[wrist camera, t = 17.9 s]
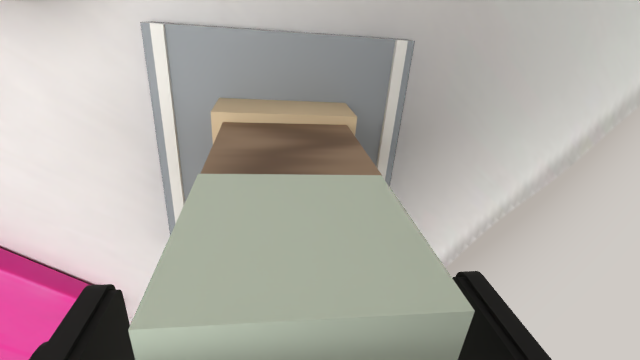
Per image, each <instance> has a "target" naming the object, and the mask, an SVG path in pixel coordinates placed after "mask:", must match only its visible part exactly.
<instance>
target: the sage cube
mask: <svg viewBox="0 0 640 360" xmlns="http://www.w3.org/2000/svg"><path fill="white" fill-rule="evenodd" d="M474 312H475V310H474V309H473V308H472V306H471V305H470V303H469V302H468V300H467V299H466V297H465V296H464V295H463V293H462V292H461V290H460V289H459V287H458V286H457V284H456V283H455V282H454V280H453V279H452V277H451V276H450V274H449V273H448V271H447V270H446V268H445V267H444V266H443V264H442V263H441V261H440V260H439V258H438V257H437V255H436V254H435V253H434V251H433V250H432V248H431V247H430V245H429V244H428V242H427V241H426V239H425V238H424V237H423V235H422V234H421V232H420V231H419V229H418V228H417V226H416V225H415V224H414V222H413V221H412V219H411V218H410V216H409V215H408V213H407V212H406V210H405V209H404V208H403V206H402V205H401V203H400V202H399V200H398V199H397V197H396V196H395V195H394V193H393V192H392V190H391V189H390V187H389V186H388V184H387V183H386V181H385V180H384V179H383V177H382V176H381V175H295V174H198V175H197V177H196V180H195V182H194V184H193V186H192V188H191V191H190V193H189V195H188V197H187V200H186V202H185V204H184V206H183V209H182V211H181V213H180V215H179V218H178V220H177V222H176V224H175V226H174V229H173V231H172V233H171V235H170V238H169V240H168V242H167V244H166V247H165V249H164V251H163V253H162V255H161V258H160V260H159V262H158V264H157V267H156V269H155V271H154V273H153V276H152V278H151V280H150V282H149V284H148V287H147V289H146V291H145V293H144V296H143V298H142V300H141V302H140V305H139V307H138V309H137V311H136V313H135V316H134V318H133V320H132V322H131V325H130V327H129V329H128V332H129V336H130V340H131V344H132V349H133V353H134V357H135V360H458V357H459V354H460V352H461V349H462V346H463V343H464V340H465V337H466V335H467V332H468V329H469V326H470V323H471V321H472V318H473V315H474Z"/></svg>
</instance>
